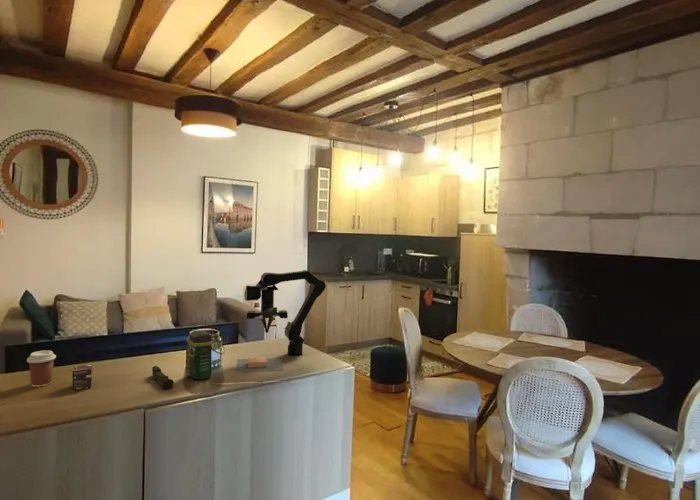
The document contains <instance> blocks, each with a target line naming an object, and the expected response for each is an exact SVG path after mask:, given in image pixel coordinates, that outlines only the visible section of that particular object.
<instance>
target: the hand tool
mask: <svg viewBox="0 0 700 500" xmlns="http://www.w3.org/2000/svg"><path fill="white" fill-rule="evenodd" d="M151 368H152V378H153V380H155V381H157V382H158V383H159V385H160V386H161V387H162V388H161V389H163V391H167V389H168V390H171V389H173V388H174V380H173V379H170V378H169V375H166V374H165V373H164V372H162V369H161V368H160V367H159V366H158V365H154V366H152V367H151Z"/></svg>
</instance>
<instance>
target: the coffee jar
mask: <svg viewBox="0 0 700 500" xmlns="http://www.w3.org/2000/svg"><path fill="white" fill-rule="evenodd" d="M212 347H213V335H212V334H211V333H209V332H207V331H204V330H203V329H200V330H193V331H191V333H190V334H189V362H188V363H189V364H188V365H189V367H188V373H189V374H188V375H189V376H190V377H191V378H192V379H194V380H205V379H208V378H210V377H212V369H213V367H212V352H213V351H212Z"/></svg>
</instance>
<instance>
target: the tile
mask: <svg viewBox="0 0 700 500" xmlns="http://www.w3.org/2000/svg"><path fill="white" fill-rule="evenodd" d="M266 358H267V356H262V357H261V356H257V357H256V356H255V357H247V359H248V368H252V367H266V366H267V360H266Z"/></svg>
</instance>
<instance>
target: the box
mask: <svg viewBox="0 0 700 500" xmlns="http://www.w3.org/2000/svg"><path fill="white" fill-rule="evenodd" d="M92 384H93V364H85V365H75V366H73V369H72V390H73V389H76V388H86V387H91V388H92Z"/></svg>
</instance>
